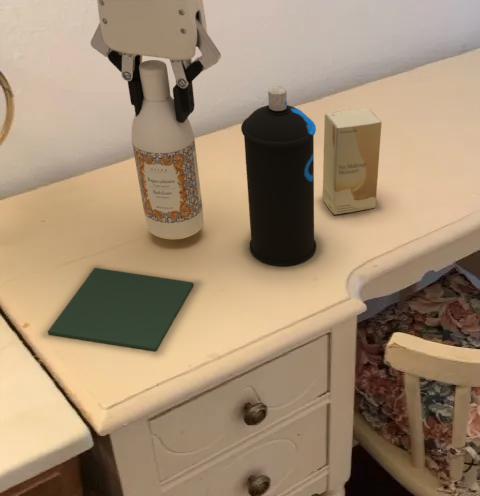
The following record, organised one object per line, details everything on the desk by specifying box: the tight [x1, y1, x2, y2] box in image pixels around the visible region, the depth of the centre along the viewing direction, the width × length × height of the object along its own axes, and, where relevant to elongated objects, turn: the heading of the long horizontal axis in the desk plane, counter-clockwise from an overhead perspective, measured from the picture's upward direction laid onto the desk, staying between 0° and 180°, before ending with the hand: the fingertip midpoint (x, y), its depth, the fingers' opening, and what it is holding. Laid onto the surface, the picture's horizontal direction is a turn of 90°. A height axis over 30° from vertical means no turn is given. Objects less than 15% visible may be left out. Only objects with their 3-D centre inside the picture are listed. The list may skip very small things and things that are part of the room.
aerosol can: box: [240, 85, 317, 267], centre depth 96 cm, size 8×8×20 cm
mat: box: [47, 267, 195, 352], centre depth 93 cm, size 12×12×1 cm
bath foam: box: [131, 59, 205, 240], centre depth 96 cm, size 7×7×20 cm
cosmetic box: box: [322, 107, 382, 215], centre depth 107 cm, size 6×4×12 cm
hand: (163, 113), depth 93 cm, fingers closed on bath foam, 4 cm apart
